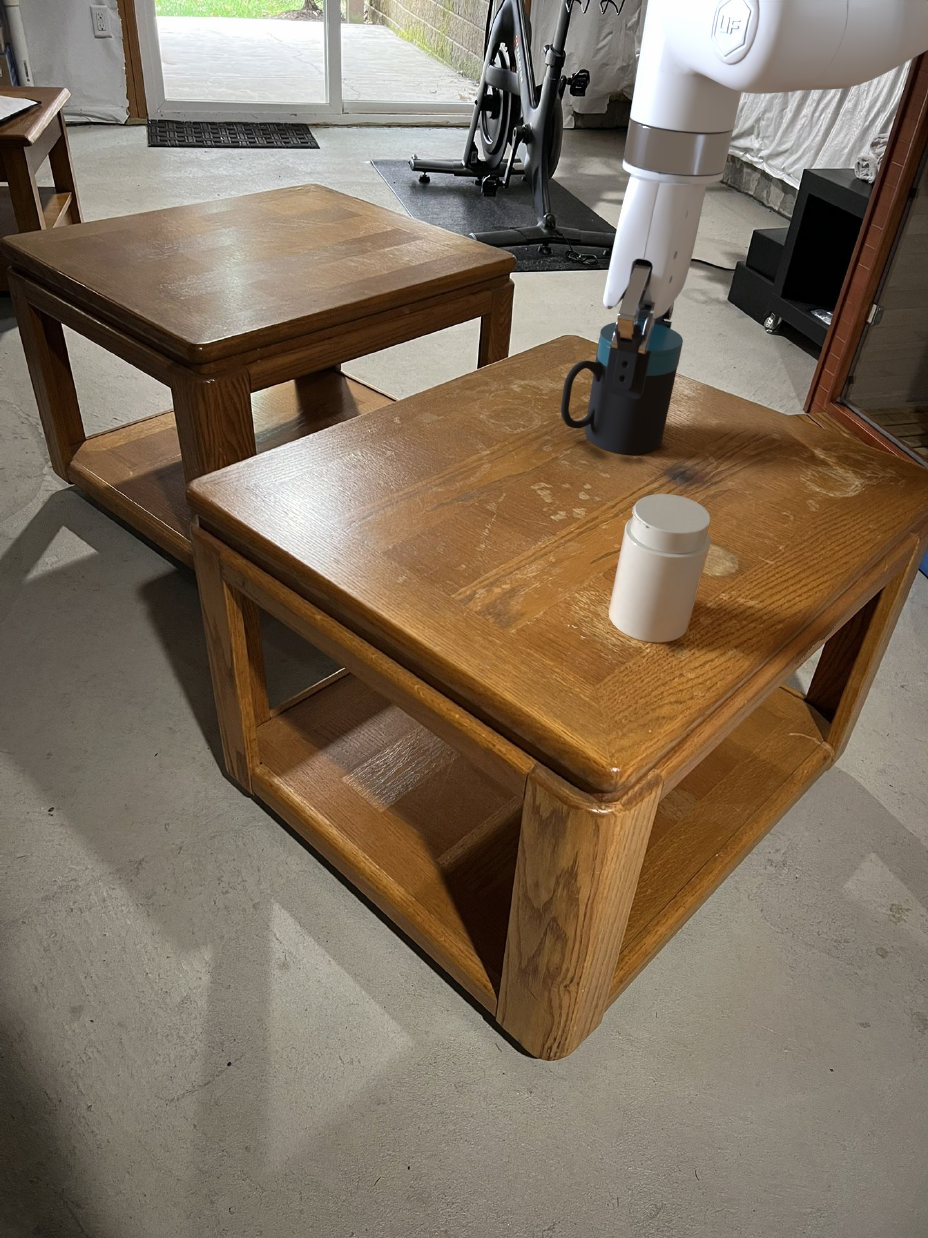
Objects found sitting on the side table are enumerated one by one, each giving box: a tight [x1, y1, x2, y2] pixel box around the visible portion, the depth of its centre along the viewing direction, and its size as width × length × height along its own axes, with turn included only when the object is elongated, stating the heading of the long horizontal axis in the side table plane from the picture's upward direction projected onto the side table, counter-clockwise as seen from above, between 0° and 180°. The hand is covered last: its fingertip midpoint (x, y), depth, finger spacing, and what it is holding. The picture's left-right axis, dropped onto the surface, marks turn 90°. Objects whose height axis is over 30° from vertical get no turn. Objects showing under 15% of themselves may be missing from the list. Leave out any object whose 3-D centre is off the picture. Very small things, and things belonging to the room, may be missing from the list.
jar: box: [608, 493, 712, 644], centre depth 72 cm, size 6×6×10 cm
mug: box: [560, 341, 678, 456], centre depth 97 cm, size 8×12×10 cm
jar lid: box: [596, 321, 684, 376], centre depth 78 cm, size 7×7×2 cm
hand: (634, 376), depth 80 cm, fingers closed on jar lid, 6 cm apart
